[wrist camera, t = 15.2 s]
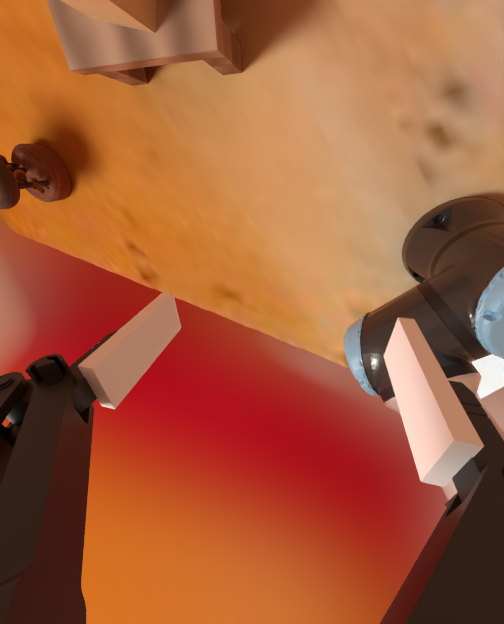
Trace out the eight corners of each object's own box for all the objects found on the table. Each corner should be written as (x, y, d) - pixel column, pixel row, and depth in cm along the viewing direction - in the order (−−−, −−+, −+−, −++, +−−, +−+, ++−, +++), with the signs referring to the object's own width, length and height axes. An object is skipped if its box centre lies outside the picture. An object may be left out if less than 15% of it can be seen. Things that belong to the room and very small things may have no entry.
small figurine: (27, 189, 55) (-99, 194, 38) (18, 134, 50) (-135, 110, 33) (87, 214, 55) (-13, 230, 38) (85, 161, 49) (-34, 151, 32)
